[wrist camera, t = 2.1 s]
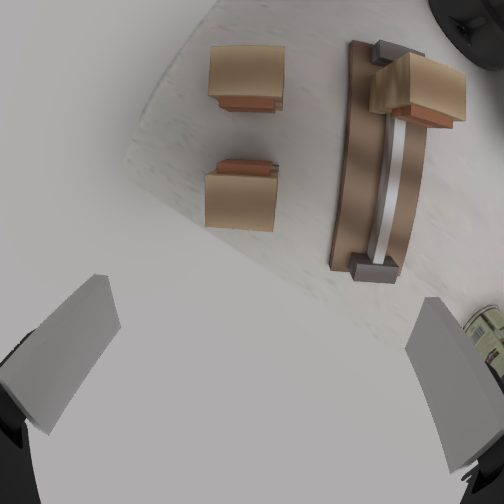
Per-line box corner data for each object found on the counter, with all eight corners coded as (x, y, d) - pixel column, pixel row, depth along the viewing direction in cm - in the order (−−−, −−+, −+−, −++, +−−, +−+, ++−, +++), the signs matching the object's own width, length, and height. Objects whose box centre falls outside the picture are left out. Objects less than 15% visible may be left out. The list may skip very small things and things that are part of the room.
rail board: (349, 44, 22) (359, 30, 18) (422, 63, 21) (440, 56, 17) (328, 264, 32) (334, 283, 28) (395, 270, 31) (408, 288, 27)
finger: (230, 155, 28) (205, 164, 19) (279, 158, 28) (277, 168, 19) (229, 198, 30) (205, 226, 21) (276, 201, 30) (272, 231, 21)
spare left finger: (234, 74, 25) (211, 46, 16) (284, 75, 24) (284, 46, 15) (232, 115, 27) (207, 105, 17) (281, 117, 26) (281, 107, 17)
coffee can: (488, 346, 35) (519, 396, 22) (451, 355, 36) (480, 414, 24) (507, 301, 31) (548, 349, 18) (470, 307, 32) (513, 366, 20)
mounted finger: (370, 76, 22) (409, 51, 13) (413, 88, 21) (465, 74, 12) (368, 118, 24) (409, 112, 15) (412, 129, 23) (464, 131, 14)
